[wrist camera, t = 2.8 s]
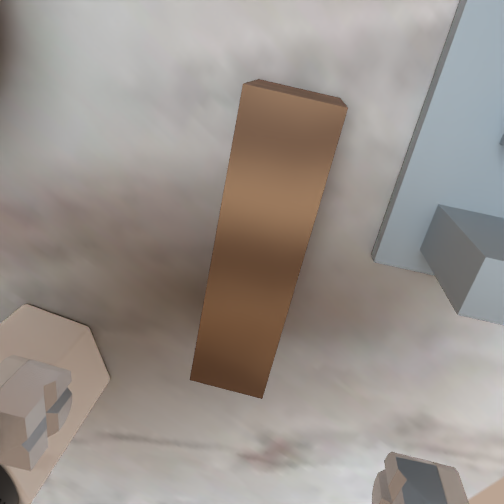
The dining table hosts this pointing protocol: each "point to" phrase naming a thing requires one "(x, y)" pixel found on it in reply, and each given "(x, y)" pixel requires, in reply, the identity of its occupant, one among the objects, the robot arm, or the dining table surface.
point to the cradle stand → (457, 172)
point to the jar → (82, 385)
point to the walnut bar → (263, 230)
